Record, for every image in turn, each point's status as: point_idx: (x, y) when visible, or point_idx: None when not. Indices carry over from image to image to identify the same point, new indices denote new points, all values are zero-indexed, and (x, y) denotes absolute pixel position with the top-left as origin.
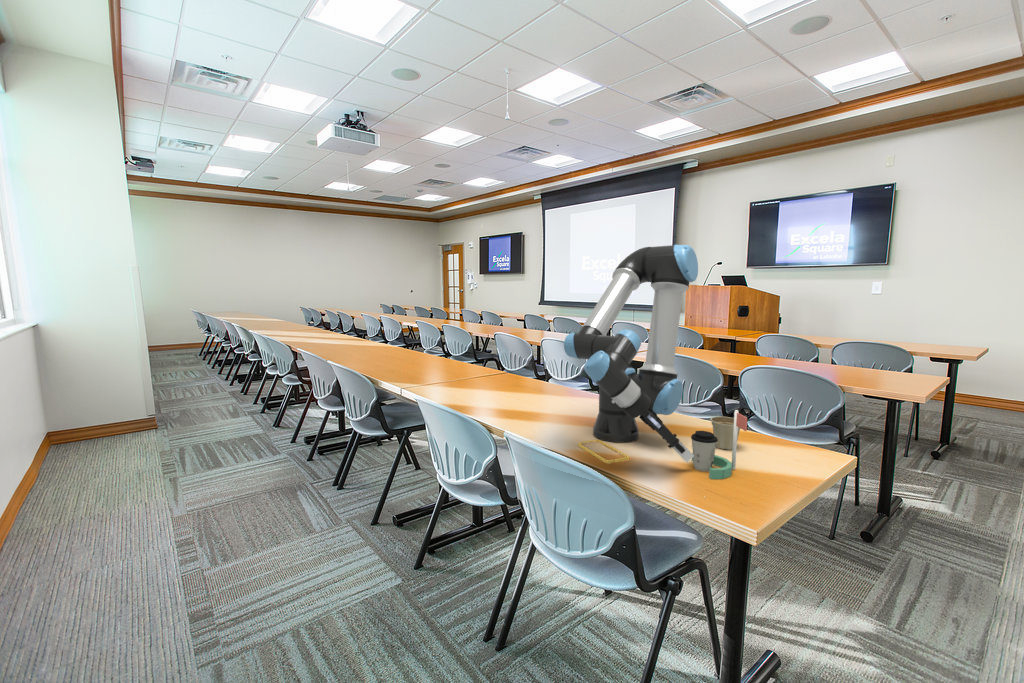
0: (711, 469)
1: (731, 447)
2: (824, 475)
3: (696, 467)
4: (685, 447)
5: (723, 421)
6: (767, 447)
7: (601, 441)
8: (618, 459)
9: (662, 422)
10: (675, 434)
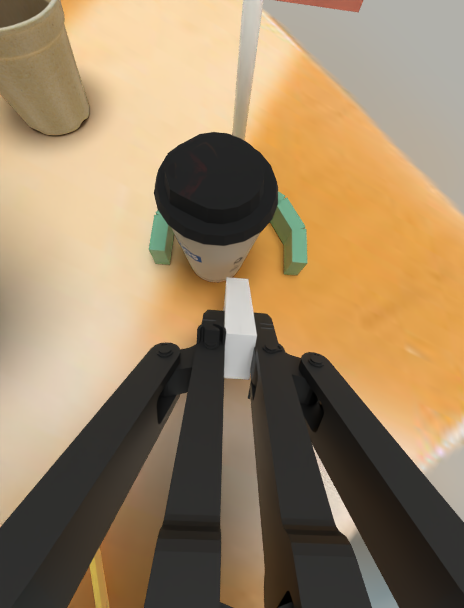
0: (302, 260)
1: (86, 103)
2: (279, 37)
3: (224, 279)
4: (251, 305)
5: None
6: (94, 28)
7: None
8: (99, 584)
9: (345, 540)
10: (215, 332)
